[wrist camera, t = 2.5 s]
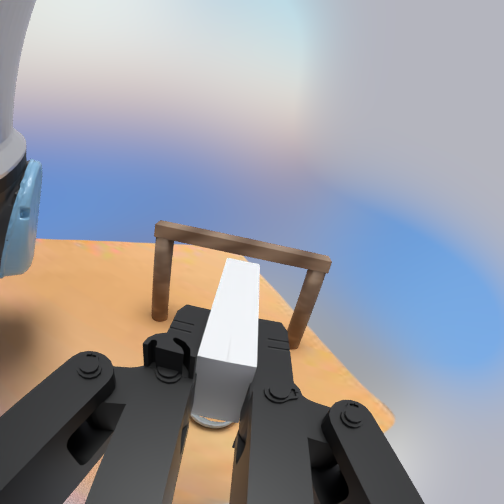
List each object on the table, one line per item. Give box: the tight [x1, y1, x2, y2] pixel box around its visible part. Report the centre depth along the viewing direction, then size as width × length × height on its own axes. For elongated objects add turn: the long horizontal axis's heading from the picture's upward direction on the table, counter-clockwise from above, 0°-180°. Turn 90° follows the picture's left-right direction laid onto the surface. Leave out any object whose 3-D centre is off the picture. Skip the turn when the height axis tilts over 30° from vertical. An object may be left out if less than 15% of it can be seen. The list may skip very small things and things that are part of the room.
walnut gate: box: [152, 220, 332, 349], centre depth 36 cm, size 22×2×14 cm, turn 88°
